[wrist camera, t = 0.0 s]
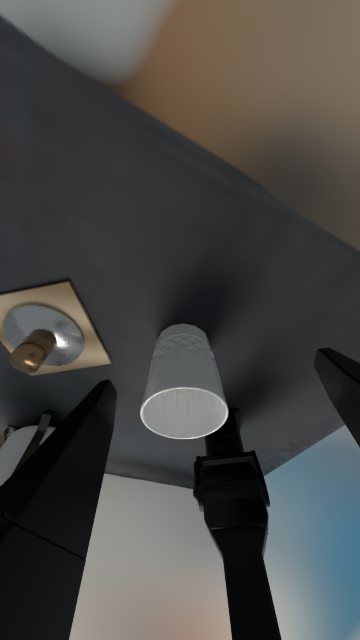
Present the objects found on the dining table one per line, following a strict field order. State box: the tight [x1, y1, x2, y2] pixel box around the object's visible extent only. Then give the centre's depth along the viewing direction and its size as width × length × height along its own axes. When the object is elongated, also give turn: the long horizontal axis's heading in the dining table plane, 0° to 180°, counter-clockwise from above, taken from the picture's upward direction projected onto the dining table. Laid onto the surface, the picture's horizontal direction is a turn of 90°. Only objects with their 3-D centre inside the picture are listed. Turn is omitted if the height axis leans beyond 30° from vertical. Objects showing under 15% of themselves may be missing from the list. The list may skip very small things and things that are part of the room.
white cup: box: [140, 323, 228, 439], centre depth 23 cm, size 8×8×10 cm
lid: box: [3, 304, 84, 373], centre depth 24 cm, size 9×9×5 cm
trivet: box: [0, 281, 112, 376], centre depth 26 cm, size 12×12×1 cm
